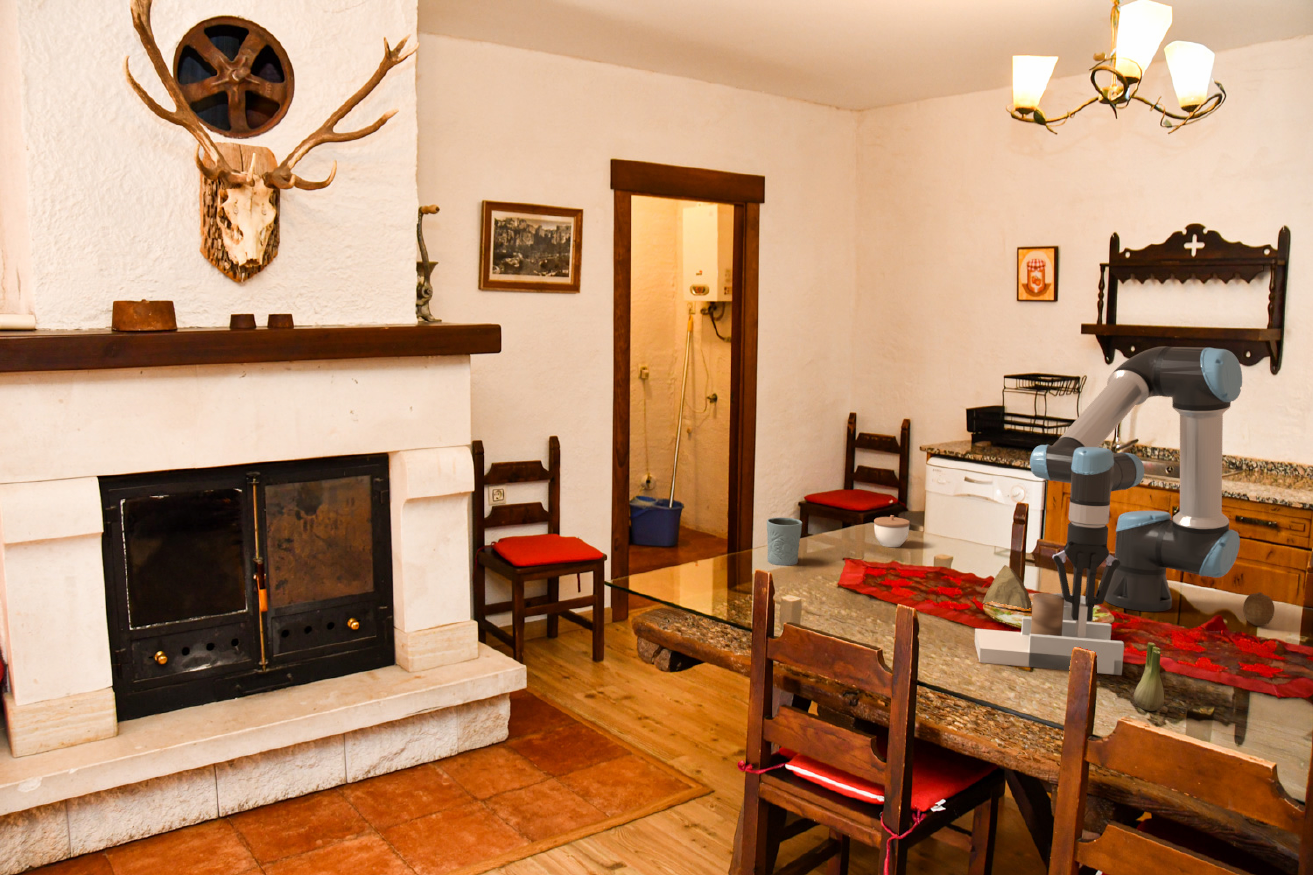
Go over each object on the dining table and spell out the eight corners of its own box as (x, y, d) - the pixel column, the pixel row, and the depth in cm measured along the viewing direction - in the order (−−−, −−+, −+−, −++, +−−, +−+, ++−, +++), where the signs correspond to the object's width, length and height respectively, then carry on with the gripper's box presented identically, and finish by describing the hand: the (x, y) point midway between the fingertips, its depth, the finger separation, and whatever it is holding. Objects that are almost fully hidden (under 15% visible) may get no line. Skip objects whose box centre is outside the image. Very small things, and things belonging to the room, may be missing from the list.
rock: (1045, 603, 234) (1021, 586, 243) (1030, 578, 231) (1006, 562, 240) (1010, 630, 233) (987, 612, 243) (994, 605, 230) (972, 588, 240)
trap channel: (1107, 653, 206) (1109, 623, 205) (1121, 675, 194) (1124, 643, 193) (974, 641, 212) (976, 612, 211) (979, 662, 200) (981, 631, 199)
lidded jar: (874, 548, 296) (875, 518, 295) (872, 540, 307) (873, 511, 306) (910, 550, 295) (911, 519, 294) (907, 541, 305) (908, 512, 304)
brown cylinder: (1058, 640, 205) (1061, 594, 203) (1063, 649, 199) (1066, 602, 198) (1028, 637, 206) (1031, 592, 205) (1032, 647, 200) (1035, 600, 199)
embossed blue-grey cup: (776, 555, 286) (777, 515, 284) (807, 561, 280) (808, 520, 279) (759, 562, 278) (760, 521, 276) (790, 568, 272) (791, 526, 270)
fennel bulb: (1158, 716, 174) (1163, 652, 172) (1128, 709, 177) (1133, 645, 175) (1167, 707, 178) (1172, 644, 176) (1138, 699, 181) (1143, 637, 180)
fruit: (1235, 623, 227) (1238, 590, 226) (1253, 620, 230) (1256, 587, 229) (1260, 631, 222) (1264, 597, 221) (1279, 628, 224) (1282, 594, 223)
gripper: (1118, 521, 200) (1110, 632, 203) (1051, 517, 203) (1044, 626, 206) (1127, 529, 193) (1118, 644, 196) (1057, 525, 195) (1049, 638, 198)
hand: (1080, 635), depth 201 cm, fingers closed
